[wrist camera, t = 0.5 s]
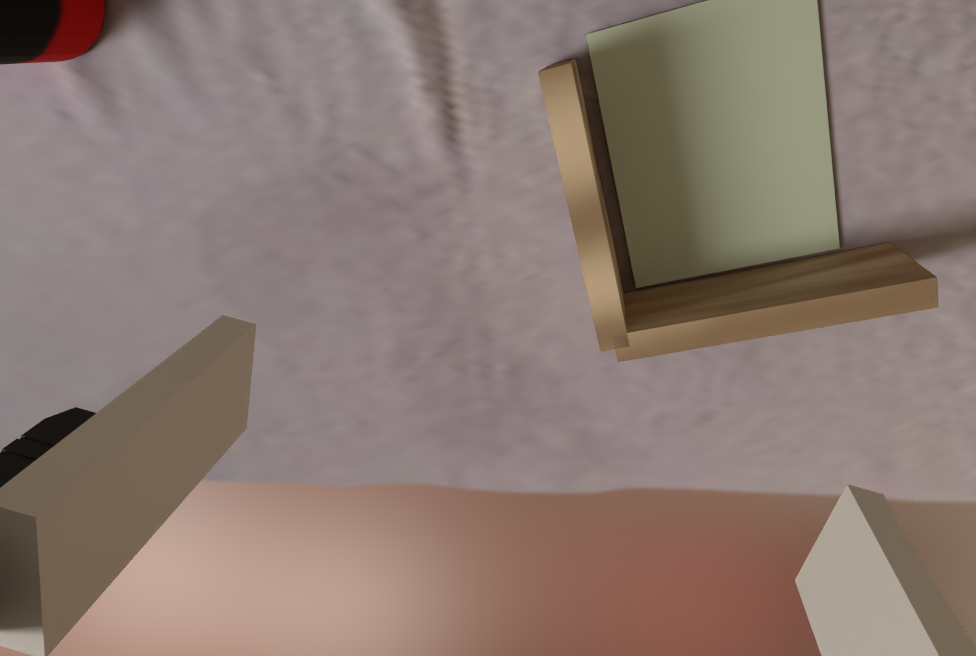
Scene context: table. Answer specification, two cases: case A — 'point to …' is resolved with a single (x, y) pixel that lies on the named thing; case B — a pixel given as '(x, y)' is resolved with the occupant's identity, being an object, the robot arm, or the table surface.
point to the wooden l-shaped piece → (722, 298)
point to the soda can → (48, 29)
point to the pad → (718, 136)
